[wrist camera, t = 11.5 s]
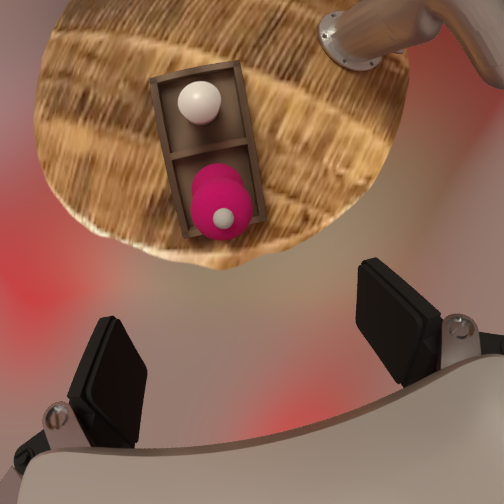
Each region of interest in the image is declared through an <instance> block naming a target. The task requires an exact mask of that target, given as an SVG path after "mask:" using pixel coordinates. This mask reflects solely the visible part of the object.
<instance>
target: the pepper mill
mask: <svg viewBox="0 0 504 504" xmlns="http://www.w3.org/2000/svg"><path fill="white" fill-rule="evenodd" d="M191 192H192V197H193V199H192V202H191V209H190V210H191V217H192V221H193V223H194V225H195V226H196V228H197V229H198V230H199V231H200V232H201V233H202V234H203V235H205V236H206V237H208V238H210V239H214V240H229V239H232V238H235V237H236V236H238V235H240V234H241V233H242V232H243V231H244V230H245V229H246V228H247V227H248V225H249V223H250V221H251V218H252V214H253V205H252V200H251V197H250V195H249V193H248V191H247V190H246V189H245V188H244V184H243V180H242V178H241V176H240V174H239V173H238V172H237V171H236V170H235V169H234V168H232V167H231V166H229V165H226V164H222V163H214V164H210V165H207V166H205V167H204V168H202V169H201V170H200V171H199V172H198V173H197V174H196V175H195V177H194V179H193V182H192V187H191Z"/></svg>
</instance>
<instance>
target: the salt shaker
mask: <svg viewBox="0 0 504 504" xmlns="http://www.w3.org/2000/svg"><path fill="white" fill-rule="evenodd" d="M220 104H221V96H220V93H219V91H218V89H217V88H216V87H215V86H214V85H212V84H211V83H208V82H204V81H198V82H193V83H191V84H189V85H187V86H186V87H185V88H184V89H183V90H182V91H181V93H180V95H179V98H178V107H179V110H180V112H181V113H182V114H183V115H184V117H185V118H186V119H187V120H188V121H189V122H191V123H192V124H194V125H197V126H204V125H207V124H210V123H211V122H213V121H214V120H215V118H216V117H217V115H218V111H219V108H220Z"/></svg>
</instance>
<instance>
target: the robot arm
mask: <svg viewBox="0 0 504 504" xmlns="http://www.w3.org/2000/svg"><path fill="white" fill-rule="evenodd" d="M443 23H444V24H445V25H446V26H447V28H448V29H449V30H450V31H451V32H452V34H453V35H454V37H455V38H456V39H457V41H458V42H459V44H460V46H461V47H462V49H463V50H464V52H465V53H466V55H467V57H468V58H469V60H470V61H471V63H472V65H473V67H474V68H475V70H476V72H477V73H478V74H479V76H480V77H481V78H482V79H483V81H484V82H486V83H487V84H488V85H490V86H492V87H495V88H497V89H504V0H360V1H359V2H357V3H356V4H355V5H353V6H352V7H351V8H349V9H348V10H346V11H333V12H331V13H329V14H327V15H326V16H325V17H324V18H322V20H321V21H320V23H319V26H318V37H319V41H320V43H321V46H322V47H323V49H324V51H325V52H326V53H327V54H328V56H329V57H330V58H331V59H333V60H334V61H335V62H336V63H338V64H339V65H341V66H343V67H344V68H347V69H350V70H353V71H366V70H369V69H372V68H374V67H375V66H377V64H378V63H379V62H380V60H381V58H382V56H384V55H386V54H389V53H397V54H403V52H404V49H405V48H409V47H412V46H416V45H419V44H423V43H426V42H429V41H431V40H433V39H434V38H435V37H436V36H437V35H438V34H439V32H440V30H441V27H442V24H443ZM323 37H324V38H323ZM343 62H344V63H343ZM440 315H441V313H440V312H439V311H438V310H437V309H435V307H433V305H431V304H430V303H429V302H428V301H427V300H426V299H425V298H424V297H423V296H421V295H420V294H419V293H418V292H417V291H416V290H415V289H414V288H412V287H411V286H410V285H409V284H408V283H407V282H405V281H404V280H403V279H402V278H401V277H399V276H398V275H397V274H396V273H395V272H394V271H392V270H391V269H390V268H389V267H388V266H387V265H385V264H384V263H383V262H381V261H380V260H379V259H378V258H376V257H375V258H371V259H367V260H364V261H362V263H361V265H359V267H358V284H357V304H356V325H357V327H358V328H359V330H360V331H361V333H362V334H363V335H364V337H365V338H366V340H367V341H368V343H369V344H370V345H371V347H372V348H373V350H374V351H375V352H376V354H377V355H378V357H379V358H380V360H381V361H382V363H383V364H384V365H385V367H386V368H387V370H388V371H389V373H390V374H391V376H392V377H393V379H394V380H395V382H396V383H397V384H400V383H401V385H402V386H403V389H401V390H399V391H397V392H395V393H392V394H390V395H388V396H386V397H383V398H381V399H379V400H377V401H374V402H372V403H369V404H367V405H365V406H362V407H360V408H357V409H354V410H352V411H349V412H346V413H343V414H341V415H338V416H335V417H332V418H329V419H326V420H323V421H320V422H316V423H314V424H310V425H306V426H303V427H299V428H295V429H292V430H288V431H284V432H280V433H275V434H271V435H266V436H261V437H257V438H252V439H246V440H241V441H234V442H227V443H221V444H213V445H204V446H193V447H181V448H159V449H156V448H155V449H134V447H135V443H137V442H138V439H139V430H140V422H141V414H142V406H143V399H144V393H145V386H146V380H147V368H146V366H145V364H144V362H143V360H142V359H141V357H140V355H139V354H138V352H137V350H136V349H135V347H134V345H133V343H132V341H131V339H130V338H129V336H128V334H127V332H126V330H125V328H124V326H123V324H122V323H121V321H120V320H119V319H116V318H115V317H114V316H109V317H103V318H100V319H99V321H98V323H97V325H96V327H95V329H94V332H93V334H92V336H91V338H90V340H89V342H88V345H87V347H86V349H85V352H84V354H83V356H82V359H81V361H80V363H79V366H78V368H77V371H76V373H75V376H74V378H73V381H72V383H71V386H70V389H69V392H68V395H67V397H68V398H69V399H70V401H69V404H68V403H66V402H63V401H59V402H55V403H53V404H52V405H51V406H49V407H48V408H47V410H46V411H45V413H44V415H43V419H42V424H43V428H44V429H43V430H42V431H41V432H39V433H38V434H37V435H35V436H34V437H32V438H31V439H30V440H28V441H27V442H26V443H25V444H23V445H21V446H20V447H19V448H18V449H17V451H16V453H15V456H14V466H15V468H14V467H13V466H11V468H10V469H9V470H8V472H7V473H6V475H5V476H4V477H3V479H2V480H1V481H0V504H504V335H497V334H490V333H483V332H479V331H478V327H477V324H476V323H475V322H474V320H473V319H471V318H470V317H468V316H466V315H463V314H451V315H448V316H447V317H446V318H445V319H444V320H443V319H442V318H441V317H440Z"/></svg>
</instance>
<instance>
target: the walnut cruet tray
mask: <svg viewBox="0 0 504 504" xmlns="http://www.w3.org/2000/svg"><path fill="white" fill-rule="evenodd" d="M149 80H150V87H151V93H152V99H153V105H154V110H155V116H156V121H157V126H158V132H159V137H160V142H161V147H162V151H163V156H164V161H165V165H166V170H167V174H168V179H169V183H170V187H171V191H172V196H173V200H174V204H175V208H176V212H177V216H178V220H179V223H180V227H181V231H182V235H183V238H184V239H185V238H190V237H194V236H199V235H203V234H202V233H201V232H200V231H199V230H198V229H197V228H196V226H195V225H194V223H193V221H192V217H191V210H190V209H191V202H192V199H193V197H192V192H191V187H192V182H193V179H194V177H195V175H196V174H197V173H198V172H199V171H200V170H201V169H202V168H204V167H205V166H207V165H210V164H214V163H222V164H226V165H229V166H231V167H232V168H234V169H235V170H236V171H237V172H238V173H239V174H240V176H241V178H242V180H243V184H244V188H245V189H246V190H247V191H248V193H249V195H250V197H251V200H252V205H253V214H252V218H251V221H250V223H249V225H250V224H254V223H259V222H264V221H267V217H266V211H265V204H264V198H263V192H262V186H261V179H260V173H259V167H258V161H257V155H256V149H255V143H254V137H253V132H252V126H251V120H250V115H249V109H248V103H247V98H246V92H245V87H244V81H243V76H242V71H241V65H240V60H236V61H229V62H222V63H216V64H210V65H204V66H199V67H194V68H189V69H185V70H180V71H176V72H172V73H168V74H164V75H160V76H157V77H153V78H150V79H149ZM198 81H204V82H208V83H211V84H212V85H214V86H215V87H216V88H217V89H218V91H219V93H220V96H221V104H220V108H219V111H218V115H217V117H216V118H215V120H214V121H213V122H211V123H210V124H207V125H204V126H197V125H194V124H192V123H191V122H189V121H188V120H187V119H186V118H185V117H184V115H183V114H182V113H181V112H180V110H179V107H178V98H179V95H180V93H181V91H182V90H183V89H184V88H185V87H186V86H187V85H189V84H191V83H193V82H198Z"/></svg>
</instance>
